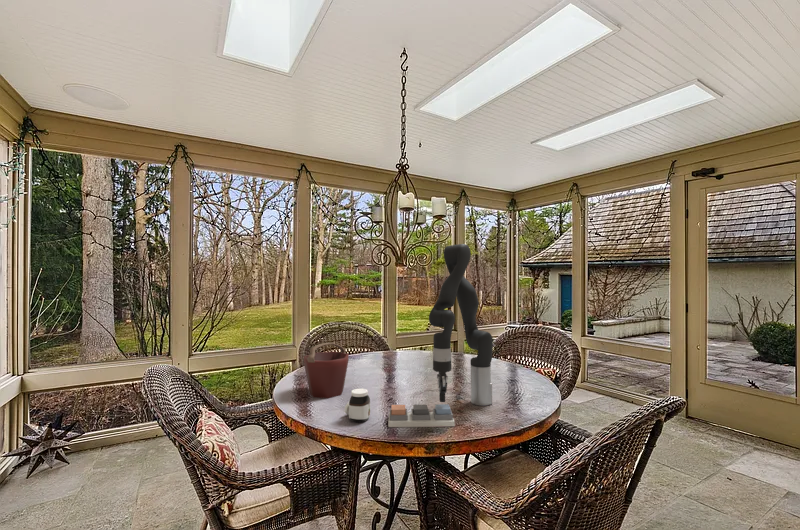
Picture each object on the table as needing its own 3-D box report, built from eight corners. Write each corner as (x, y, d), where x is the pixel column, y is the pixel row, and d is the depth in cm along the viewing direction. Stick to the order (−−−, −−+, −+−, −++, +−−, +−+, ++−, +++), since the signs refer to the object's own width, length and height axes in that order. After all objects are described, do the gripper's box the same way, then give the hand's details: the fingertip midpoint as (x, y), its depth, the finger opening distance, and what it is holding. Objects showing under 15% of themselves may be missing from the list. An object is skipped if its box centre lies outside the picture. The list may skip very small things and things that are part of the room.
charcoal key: (426, 410, 159) (426, 404, 159) (428, 415, 153) (428, 409, 153) (413, 410, 159) (413, 404, 159) (414, 415, 153) (414, 409, 153)
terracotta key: (405, 410, 159) (405, 404, 159) (405, 415, 153) (405, 409, 153) (391, 410, 158) (391, 404, 159) (391, 415, 153) (391, 409, 153)
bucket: (313, 403, 178) (313, 349, 178) (293, 392, 195) (293, 343, 195) (358, 393, 193) (357, 343, 194) (335, 383, 210) (335, 337, 211)
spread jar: (364, 424, 153) (364, 395, 153) (338, 422, 156) (338, 393, 156) (374, 414, 165) (374, 386, 165) (349, 411, 168) (349, 384, 168)
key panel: (450, 416, 161) (450, 407, 161) (454, 426, 151) (454, 416, 151) (388, 417, 161) (388, 407, 161) (388, 427, 151) (388, 416, 151)
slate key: (448, 410, 159) (448, 404, 159) (450, 415, 153) (450, 409, 153) (435, 410, 159) (435, 404, 159) (436, 415, 153) (436, 409, 153)
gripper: (453, 362, 150) (453, 407, 149) (449, 355, 163) (449, 396, 163) (434, 362, 150) (434, 407, 149) (431, 355, 163) (431, 396, 163)
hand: (442, 401), depth 156 cm, fingers closed
